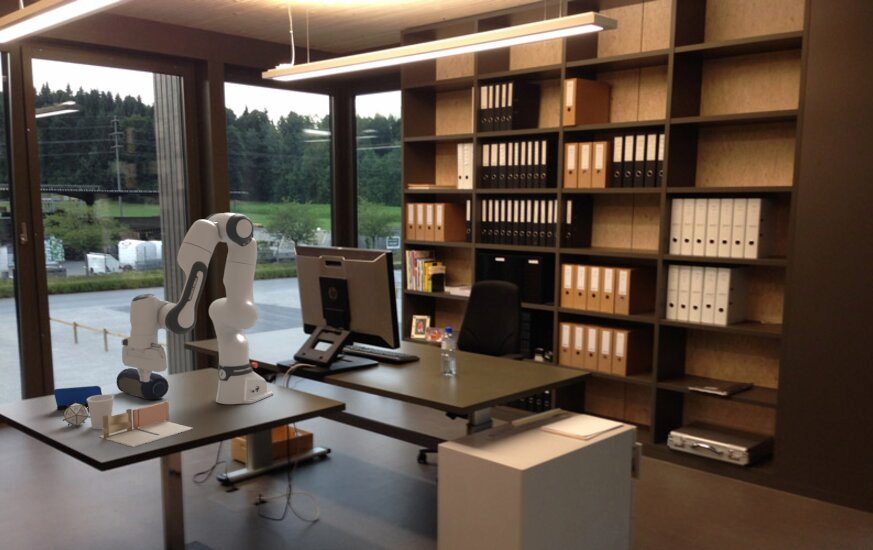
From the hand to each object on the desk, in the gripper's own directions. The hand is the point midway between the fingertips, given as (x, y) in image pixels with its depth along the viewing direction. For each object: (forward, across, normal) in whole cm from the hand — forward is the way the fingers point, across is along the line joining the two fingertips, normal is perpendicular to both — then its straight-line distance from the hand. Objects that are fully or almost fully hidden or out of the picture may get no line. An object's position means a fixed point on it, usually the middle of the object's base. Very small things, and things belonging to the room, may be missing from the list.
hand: (144, 381), depth 247 cm
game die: (+14, +14, +16) cm, 26 cm away
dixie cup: (+14, +6, +12) cm, 20 cm away
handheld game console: (+15, +36, +2) cm, 39 cm away
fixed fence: (+14, -7, +15) cm, 21 cm away
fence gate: (+13, -7, +2) cm, 15 cm away
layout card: (+14, -13, +8) cm, 21 cm away
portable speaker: (+14, +31, -20) cm, 39 cm away
